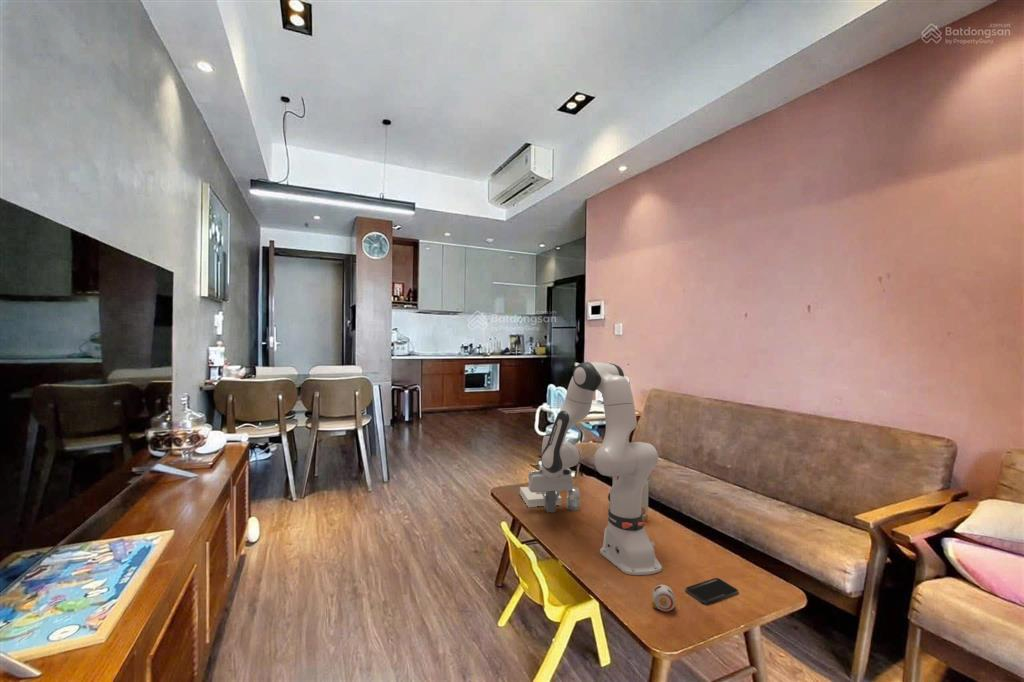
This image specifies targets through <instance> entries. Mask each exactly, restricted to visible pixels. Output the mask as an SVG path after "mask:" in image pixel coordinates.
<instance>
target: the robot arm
mask: <svg viewBox="0 0 1024 682" xmlns="http://www.w3.org/2000/svg"><path fill="white" fill-rule="evenodd" d="M596 391H598V392H600V393H601V394H600V395H601V396H602V402H603V409H604V417H605V418H604V419H605V432H604V437H603V441H602V443H600V446H599V447H598V448H597V449H596V451H595V452H594V456H593V464H594V467H595V469H596V470H597V472H598V473H599V474H600V475H602V476H606V477H613V476H614V477H616V476H620V477H619V479H618V480H617V482H616V483H615V484H614V485H613V484H612V486H611V488H610V490H609V493H610V502H609V508H608V512H607V521H608V522H607V525H606V527H605V528H604V531H603V532H604V533H603V543H602V547H600V549H599V554H600V555H602V556H603V557H604V558H606V559H607V560H608V561H609V562H610V563H612V564H613V565H614V566H615V567H616V566H617V567H616V568H618V569H619V570H620V571H621V572H623V573H624V574H626V575H632V576H648V575H649V576H650V575H653V574H657V573H658V574H659V573H660V572H661V571H663V566H662V564H661V563H660V562H659V560H658V559H657V557H656V555H655V548H656V545H655V542H654V541H653V540H651V539H650V538H649V533H648V532H646V529H645V522H643V521H644V520H643V516H642V513H641V504H642V493H643V489H644V485H645V483H646V480H647V478H648V479H649V476H650V474H651V472H652V471H653V470H654V469H655V468H657V466H658V463H659V453H658V450H657V449H656V447H655V446H654V445H653V444H651V443H649V442H644V441H635V442H634V441H633V442H629V441H630V435H631V433H632V431H634V430H635V429H636V427H637V424H638V422H637V420H638V419H637V413H636V409H635V402H634V396H633V393H632V389H631V386H630V382H629V380H628V379H627V378H626V377H625V374H624V371H623V369H622V367H620V366H619V365H618V364H615V363H606V362H600V361H591V362H589V361H586V362H585V361H584V362H581V363H579V364H577V365H576V366H575V367H574V368H573V372H572V376H571V379H570V381H569V383H568V387H567V390H566V395H565V399H564V402H563V404H562V406H561V410H560V411H559V412H558V413H557V415H556V417H555V420H554V422H553V425H552V429H551V432H550V433H547V434H544V436H543V439H542V443H541V456H540V461H541V466H540V468H541V469H537V470H535V469H533V470H531V471H530V472H529V473H528V485H527V487H528V489H529V490H530V492H541V494H542V495H543V501H544V502H545V501H547V496H545V495H544V494H545V492H550V491H556V492H557V493H556V501H558V497H559V495H560V496H561V492H562V491H564V492H565V491H566V492H567V491H568V490H572V489H573V486H574V478H573V476H572V473H573V471H572V469H571V467H572V468H573V467H575V466H577V465H578V464H579V462H580V459H581V454H580V450H579V449H578V447H577V446H576V445H574V444H572V443H570V442H568V441H566V436H567V433H568V431H569V430H570V429H571V428H573V427H574V425H576V424H578V423H579V422H581V421H583V420H584V419H586V417H588V415H589V414H590V412H591V411H590V410H591V408H592V405H593V398H594V394H595V392H596Z"/></svg>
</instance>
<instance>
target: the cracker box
mask: <svg viewBox="0 0 1024 682" xmlns="http://www.w3.org/2000/svg"><path fill="white" fill-rule="evenodd" d="M619 477H620V476H616V477H614V476H612V486H613V485H614V484H615V483H616V482H617V480H618V479H619ZM641 513H642V516H643V520H644V521H643V522H649V477H648V478H647V480H646V483H645V485H644V489H643V493H642V504H641Z"/></svg>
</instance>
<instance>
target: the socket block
mask: <svg viewBox="0 0 1024 682" xmlns="http://www.w3.org/2000/svg"><path fill="white" fill-rule="evenodd" d="M555 492H556V491H555ZM556 493H557V492H556ZM520 494H521V495H520ZM519 495H520V497H521V496H522V497H521V498H523V499H522V500H523V502H524V501H525V502H524V503H526V504H525V506H526V507H527V506H528V507H527V508H538V507H537V506H544V507H545V504H546V501H545V502H544V501H543V495H542V494H541V492H530V490H529V489H528V486H519ZM544 495H545V496H546V492H545V494H544ZM562 499H563V497H562V496H561V494H560V495H559V497H558V501H556V503H555V505H559V506H562V502H563V501H562Z"/></svg>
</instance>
